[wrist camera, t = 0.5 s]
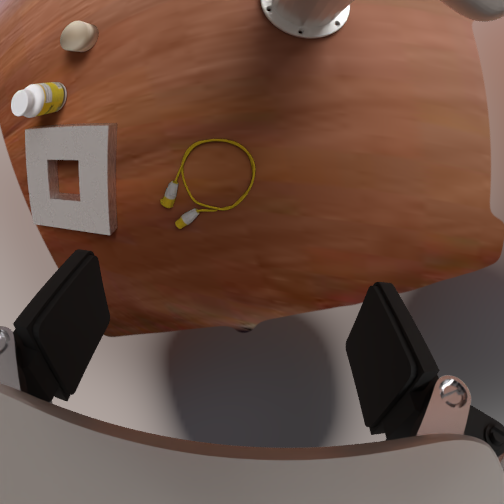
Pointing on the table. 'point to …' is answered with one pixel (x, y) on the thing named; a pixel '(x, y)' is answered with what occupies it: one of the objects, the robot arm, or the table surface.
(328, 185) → the table surface
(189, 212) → the extension cord
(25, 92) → the supplement bottle
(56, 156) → the hole plate
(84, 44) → the short stub
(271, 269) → the table surface
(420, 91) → the table surface
